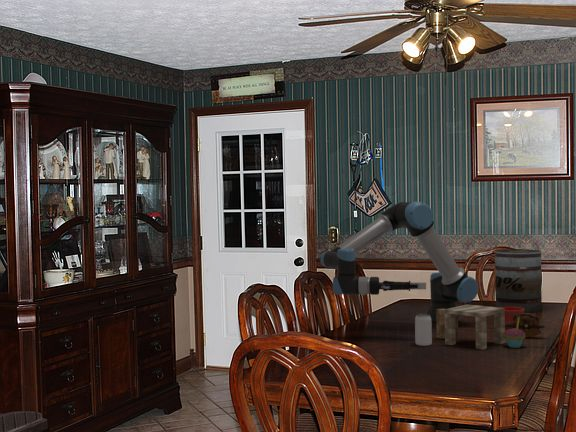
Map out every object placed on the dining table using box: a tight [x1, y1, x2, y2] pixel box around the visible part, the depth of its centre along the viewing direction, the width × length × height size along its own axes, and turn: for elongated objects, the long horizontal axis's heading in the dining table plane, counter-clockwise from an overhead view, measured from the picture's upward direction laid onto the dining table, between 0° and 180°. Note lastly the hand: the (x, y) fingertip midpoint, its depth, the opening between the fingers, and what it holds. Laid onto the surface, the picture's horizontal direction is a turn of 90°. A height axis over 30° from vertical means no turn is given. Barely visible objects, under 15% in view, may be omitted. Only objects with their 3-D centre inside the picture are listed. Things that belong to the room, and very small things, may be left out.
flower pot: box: [500, 307, 524, 331], centre depth 342 cm, size 11×11×10 cm
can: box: [414, 313, 433, 347], centre depth 315 cm, size 6×6×12 cm
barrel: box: [494, 248, 543, 314], centre depth 399 cm, size 22×22×30 cm
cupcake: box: [503, 316, 526, 349], centre depth 307 cm, size 9×8×12 cm
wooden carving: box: [505, 313, 546, 338], centre depth 325 cm, size 16×5×10 cm, turn 70°
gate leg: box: [435, 308, 459, 343], centre depth 322 cm, size 13×4×12 cm, turn 21°
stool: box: [444, 304, 506, 350], centre depth 314 cm, size 17×17×14 cm
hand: (426, 285), depth 327 cm, fingers closed
